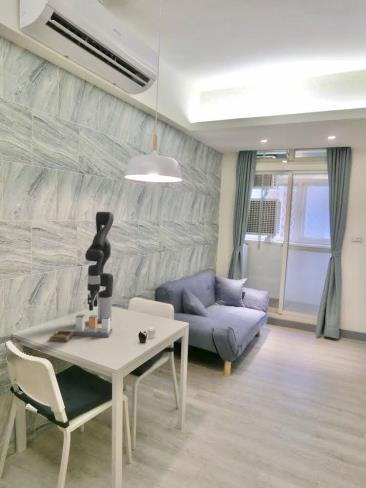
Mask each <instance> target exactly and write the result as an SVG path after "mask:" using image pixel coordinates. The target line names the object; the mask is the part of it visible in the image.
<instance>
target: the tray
mask: <svg viewBox="0 0 366 488" xmlns="http://www.w3.org/2000/svg"><path fill="white" fill-rule="evenodd" d="M73 337H75V335H74V330H73V331H68V330H57V331H55V332H54V333H53V334H52V335H51V336H49V341H50V342H62V343H68V342H69V341H70V340H71V339H72V338H73Z"/></svg>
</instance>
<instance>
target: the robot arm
mask: <svg viewBox="0 0 366 488" xmlns="http://www.w3.org/2000/svg"><path fill="white" fill-rule="evenodd" d="M114 220H115V219H114V214H113V212H111V211H97V212H96V214H95V226H96V227H95V229H96V234H94V236H93V239H92V242H91V245H89V247H88V249H87V250H86V252H85V255H84V256H85V260H86V261H88V262H96V263H95V264H91V265H88V269H87V271H88V273H87V285H86V286H87V291H89V293H88V294H87V305H88V311H90V312H91V311H93V310H94V307H97V323H98V322H99V323H102V317H103V316H110V322H111V321H112V310H113V308H112V305H113V304H112V303H113V291H114V290H113V287H114V276H113V274H112V273H108V272H107V273H106V272H104V268H105V265H106V263H107V262H108V261H109V259H110V256H111V254H112V253H111V252H112V251H111V249H112V247H111V243H110V240H109V238H107V236H108V234H109V233H110V232H109V231H110V230H111V228H112V226H113V223H114ZM101 287H102V288H103V287H104V288H105V289H104V290H101Z"/></svg>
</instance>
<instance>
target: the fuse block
mask: <svg viewBox="0 0 366 488" xmlns="http://www.w3.org/2000/svg"><path fill="white" fill-rule="evenodd" d="M85 315H86V314H80V313H79V314H77V315H76V316H75V327H74V330H73V331H74V336H79V337H80V336H84V337H98V338H109V337H110V336H111V335H112V334H113V328H111V321H110V316H103V317H102V322H101V327H99V325H97V330H96V331H95V329H89V326H87V327H86V325H87V324H86V323H85V322H86V320H85V319H86V316H85Z"/></svg>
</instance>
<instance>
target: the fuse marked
mask: <svg viewBox="0 0 366 488" xmlns="http://www.w3.org/2000/svg"><path fill="white" fill-rule="evenodd" d="M97 326H98V314H90V315H89V316H88V327H89V329H95V331H96V330H97Z"/></svg>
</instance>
